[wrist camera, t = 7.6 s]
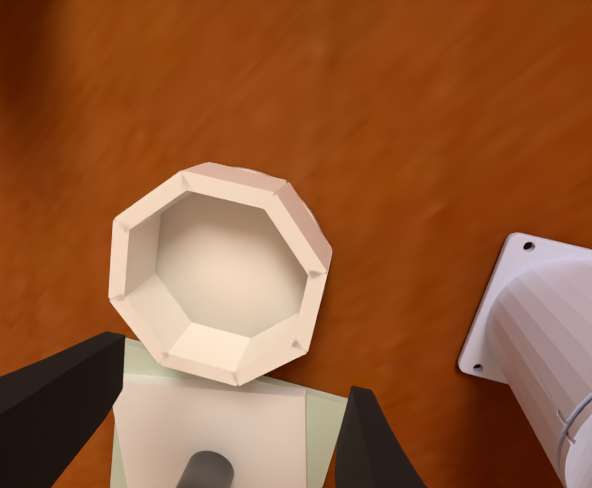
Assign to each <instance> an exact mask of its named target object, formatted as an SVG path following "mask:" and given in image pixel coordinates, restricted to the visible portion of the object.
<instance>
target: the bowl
mask: <svg viewBox="0 0 592 488" xmlns="http://www.w3.org/2000/svg"><path fill="white" fill-rule="evenodd" d="M286 182H287V180H284V179H279V178H275V177H272V176H270V175H268V174H266V173H264V172H260V171H257V170H254V169H249V168H243V167H228V166H224V165H220V164H216V163H211V162H208V163H204V164H200V165H197V166H194V167H191V168H188V169H185V170H182V171H180V172H178V173H177V174H175V175H174V176H173V177H171V178H170V179H168V180H167V181H166V182H164V183H163V184H161V185H160V186H159V187H157V188H156V189H155V190H153V191H152V192H150V193H149V194H148V195H146V196H145V197H143V198H142V199H141V200H139V201H138V202H136V203H135V204H134V205H132V206H131V207H129V208H128V209H127V210H125V211H124V212H122V213H121V214H120V215H118V216H117V217H115V218H114V219H115V220H113V231H112V247H111V264H110V280H109V297H108V298H110V299H111V300H109V301H110V302H111V303H112V305H113V306H114V307H115V309H116V310H117V311H118V312H119V314H120V315H121V316H122V318H123V319H124V320H125V321H126V323H127V324H128V325H129V327H130V328H131V329H132V330H133V332H134V333H135V334H136V336H137V337H138V338H139V339H140V341H141V342H142V343H143V345H144V346H145V347H146V348H147V350H148V351H149V352H150V354H151V355H152V356H153V357H154V359H155V360H156V361H157V362H158V364H159V363H161V366H165V367H169V368H172V369H176V370H179V371H183V372H187V373H190V374H194V375H197V376H201V377H205V378H208V379H212V380H215V381H219V382H223V383H226V384H230V385H233V386H237V385H239V386H241V385H243V384H245V383H247V382H249V381H251V380H253V379H255V378H257V377H259V376H261V375H263V374H265V373H267V372H269V371H271V370H273V369H275V368H278V367H280V366H282V365H284V364H286V363H288V362H290V361H292V360H294V359H296V358H298V357H300V356H302V355H304V354H306V353H307V351H308V350H309V346H310V342H311V338H312V334H313V330H314V326H315V322H316V318H317V314H318V310H319V306H320V302H321V298H322V294H323V290H324V286H325V282H326V278H327V274H328V269H329V265H330V260H331V255H332V248H331V246H330V245H329V243H328V242H327V240H326V239H325V237H324V235H323V233H322V230H321V228H320V225H319V223H318V221H317V219H316V217H315V215H314V214H313V212H312V211H311V209H310V208H309V206H308V205H307V204H306V202H305V201H304V200H303V199H302V198H301V197H300V196H299V195H298V194H297V193H296V192H295V190H294V189H293V187H292V186H291V184H290V182H288V183H286Z"/></svg>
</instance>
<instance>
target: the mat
mask: <svg viewBox="0 0 592 488" xmlns="http://www.w3.org/2000/svg"><path fill="white" fill-rule="evenodd" d="M124 374H135V375H147V376H159V377H171V378H184V379H196V380H208V381H215V380H212V379H208V378H205V377H201V376H197V375H194V374H190V373H187V372H183V371H179V370H176V369H172V368H169V367H165V366H161V363H159V364H158V362H157V361H156V360H155V359H154V357H153V356H152V355H151V354H150V352H149V351H148V350H147V348H146V347H145V346H144V345H143V343H142V342H140V341H136V340H132V339H129V338H126V339H125V356H124ZM245 384H257V385H269V386H281V387H293V388H306V389H307V463H308V488H322V487H323V484H324V481H325V477H326V474H327V471H328V467H329V464H330V461H331V458H332V454H333V451H334V448H335V444H336V441H337V438H338V435H339V431H340V428H341V424H342V420H343V416H344V413H345V409H346V405H347V401H348V399H347V398H344V397H340V396H337V395H333V394H329V393H326V392H322V391H318V390H315V389H311V388H307V387H304V386H300V385H296V384H293V383H289V382H286V381H282V380H278V379H275V378H271V377H267V376H264V375H261V376H259V377H257V378H255V379H253V380H251V381H249V382H247V383H245ZM110 488H127V483H126V477H125V472H124V466H123V460H122V455H121V449H120V444H119V438H118V433H117V427H116V422H115V430H114V443H113V457H112V470H111V483H110Z"/></svg>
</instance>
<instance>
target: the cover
mask: <svg viewBox="0 0 592 488" xmlns="http://www.w3.org/2000/svg"><path fill="white" fill-rule="evenodd" d="M113 411H114V416H115V422H116V427H117V433H118V438H119V444H120V449H121V455H122V460H123V466H124V472H125V477H126V483H127V488H308V463H307V389H306V388H293V387H281V386H269V385H257V384H243V385H241V386H239V385H237V386H233V385H230V384H226V383H223V382H219V381H208V380H196V379H184V378H171V377H159V376H147V375H135V374H124V377H123V390H122V391H121V393H120V395H119V397H118V398H117V400H116V402H115V403H114V405H113Z"/></svg>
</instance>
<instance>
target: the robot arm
mask: <svg viewBox="0 0 592 488" xmlns="http://www.w3.org/2000/svg"><path fill="white" fill-rule="evenodd" d="M527 242H532V246H531V247H530V248H529V249H527V250H524V249H523V246H524V244H525V243H527ZM125 336H126V335H121V334H117V333H112V332H108V331H107V332H104V333H101V334H99V335H97V336H94V337H92V338H90V339H88V340H85V341H83V342H81V343H79V344H77V345H74V346H72V347H70V348H68V349H66V350H63V351H61V352H59V353H57V354H55V355H52V356H50V357H48V358H46V359H43V360H41V361H38V362H36V363H34V364H31V365H29V366H26V367H24V368H21V369H19V370H16V371H14V372H11V373H9V374H6V375H4V376H1V377H0V488H51V487H52V485H53V484H54V483H55V481H56V480H57V479H58V478H59V476H60V475H61V474H62V472H63V471H64V470H65V469H66V467H67V466H68V465H69V464H70V462H71V461H72V460H73V459H74V457H75V456H76V455H77V454H78V452H79V451H80V450H81V449H82V447H83V446H84V445H85V444H86V442H87V441H88V440H89V438H90V437H91V436H92V435H93V433H94V432H95V431H96V430H97V428H98V427H99V426H100V424H101V423H102V422H103V420H104V419H105V418H106V416H107V415H108V413H109V411H110V410H111V408H112V407H113V405H114V403H115V402H116V400H117V398H118V397H119V395H120V393H121V391H122V390H123V377H124V356H125ZM476 364H481V366H480V367H479V368H473V367H474V365H476ZM458 365H459V368H460V370H461V371H462V372H464V373H467V374H471V375H475V376H479V377H482V378H486V379H490V380H494V381H498V382H501V383H505V384H509V386H510V388H511V389H512V391H513V393H514V395H515V397H516V399H517V401H518V403H519V404H520V406H521V408H522V410H523V412H524V414H525V416H526V417H527V419H528V421H529V423H530V425H531V427H532V429H533V430H534V432H535V434H536V436H537V438H538V440H539V442H540V443H541V445H542V447H543V449H544V451H545V453H546V455H547V457H548V458H549V460H550V462H551V464H552V466H553V468H554V470H555V471H556V473H557V475H558V477H559V479H560V481H561V483H562V484H563V486H564V488H592V250H591V249H587V248H583V247H579V246H574V245H570V244H566V243H561V242H557V241H553V240H549V239H544V238H540V237H536V236H532V235H527V234H523V233H512V234H510V235H509V236H508V237H507V238H506V240H505V243H504V245H503V248H502V250H501V253H500V255H499V258H498V260H497V263H496V265H495V268H494V270H493V273H492V275H491V278H490V280H489V283H488V285H487V288H486V291H485V293H484V296H483V298H482V301H481V303H480V306H479V308H478V311H477V313H476V316H475V318H474V321H473V323H472V326H471V328H470V331H469V333H468V336H467V338H466V341H465V344H464V346H463V349H462V351H461V354H460V356H459V359H458ZM335 483H336V488H427V487H426V485H425V484H424V483H423V481H422V480H421V478H420V477H419V475H418V474H417V472H416V471H415V469H414V467H413V466H412V464H411V463H410V461H409V460H408V458H407V456H406V455H405V453H404V451H403V450H402V448H401V446H400V444H399V442H398V441H397V439H396V437H395V435H394V434H393V432H392V430H391V428H390V426H389V424H388V422H387V420H386V418H385V416H384V414H383V412H382V410H381V408H380V406H379V404H378V402H377V399H376V397H375V395H374V393H373V392H372V390H369V389H365V388H360V387H356V386H351V390H350V394H349V398H348V401H347V405H346V409H345V413H344V416H343V420H342V424H341V428H340V431H339V435H338V441H337V453H336V467H335Z"/></svg>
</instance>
